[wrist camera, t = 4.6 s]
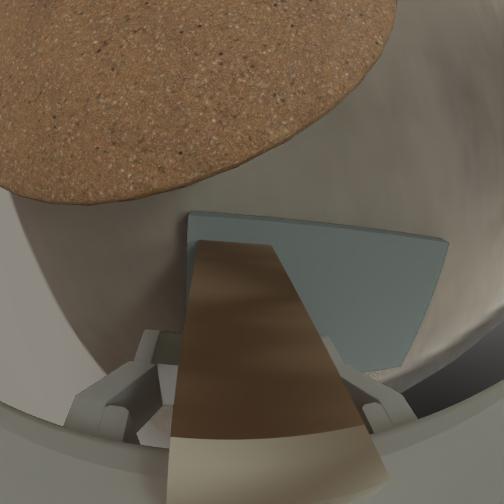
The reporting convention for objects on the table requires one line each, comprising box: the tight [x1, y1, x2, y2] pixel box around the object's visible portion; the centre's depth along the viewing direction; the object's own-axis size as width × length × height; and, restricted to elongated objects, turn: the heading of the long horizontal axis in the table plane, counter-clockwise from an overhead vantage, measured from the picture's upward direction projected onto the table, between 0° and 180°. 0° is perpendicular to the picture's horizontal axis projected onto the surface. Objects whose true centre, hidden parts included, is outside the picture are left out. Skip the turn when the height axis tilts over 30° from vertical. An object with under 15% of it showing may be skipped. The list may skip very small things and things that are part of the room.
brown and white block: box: [167, 240, 391, 504], centre depth 8 cm, size 3×5×10 cm, turn 173°
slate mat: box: [186, 211, 449, 373], centre depth 14 cm, size 14×9×1 cm, turn 83°
